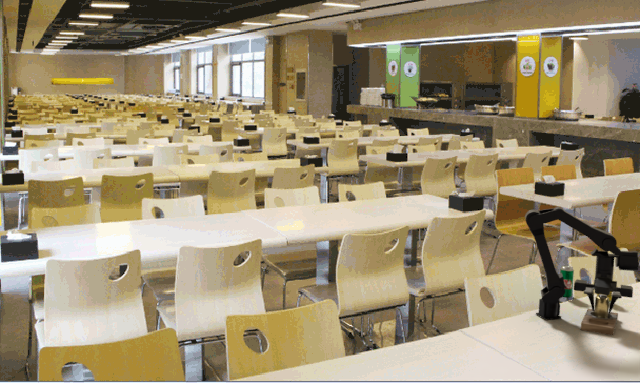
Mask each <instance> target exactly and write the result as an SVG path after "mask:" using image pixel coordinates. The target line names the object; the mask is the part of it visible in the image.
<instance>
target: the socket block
mask: <svg viewBox="0 0 640 383" xmlns="http://www.w3.org/2000/svg"><path fill="white" fill-rule="evenodd" d="M594 311H595V309H594ZM594 311H593V310H592V308H587V309H586V311H585V314H584V316H583V318H582V320H581V323H580V331H584V332H589V333H596V334H602V335H609V336H614V334H615V330H616V326H617V324H618V323H617V322H618V319H619V313H618V312H613V311H611V312H610V313H609V311H608V318H600V317H596V316H594Z"/></svg>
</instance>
